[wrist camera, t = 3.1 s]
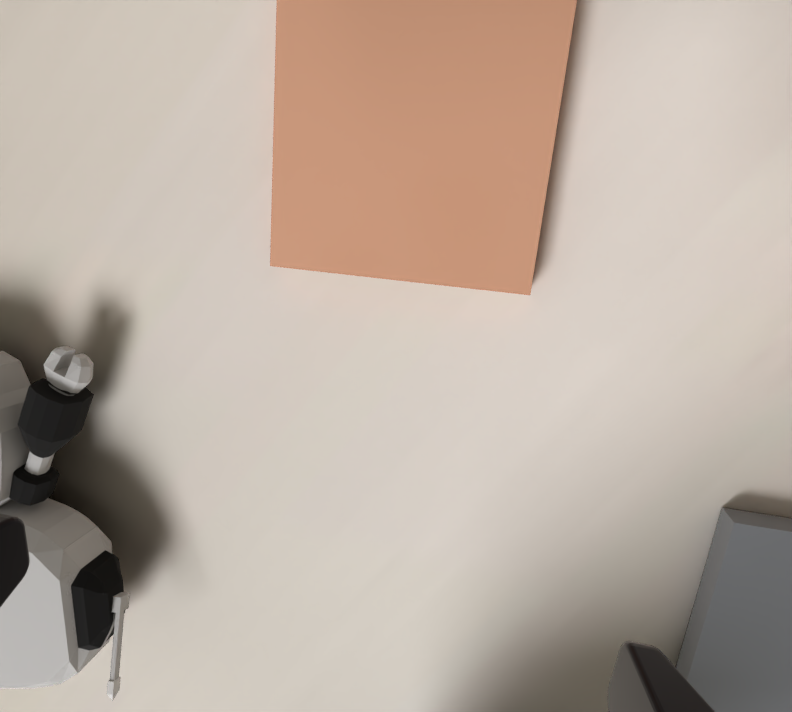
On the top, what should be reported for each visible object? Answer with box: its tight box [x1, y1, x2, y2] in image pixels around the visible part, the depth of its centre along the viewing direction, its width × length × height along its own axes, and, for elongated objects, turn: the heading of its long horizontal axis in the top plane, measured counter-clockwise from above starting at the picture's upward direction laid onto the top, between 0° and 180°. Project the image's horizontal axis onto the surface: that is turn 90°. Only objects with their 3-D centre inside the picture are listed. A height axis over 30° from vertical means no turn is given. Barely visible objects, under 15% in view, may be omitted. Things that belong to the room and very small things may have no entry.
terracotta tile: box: [270, 0, 577, 295], centre depth 17 cm, size 9×9×1 cm
